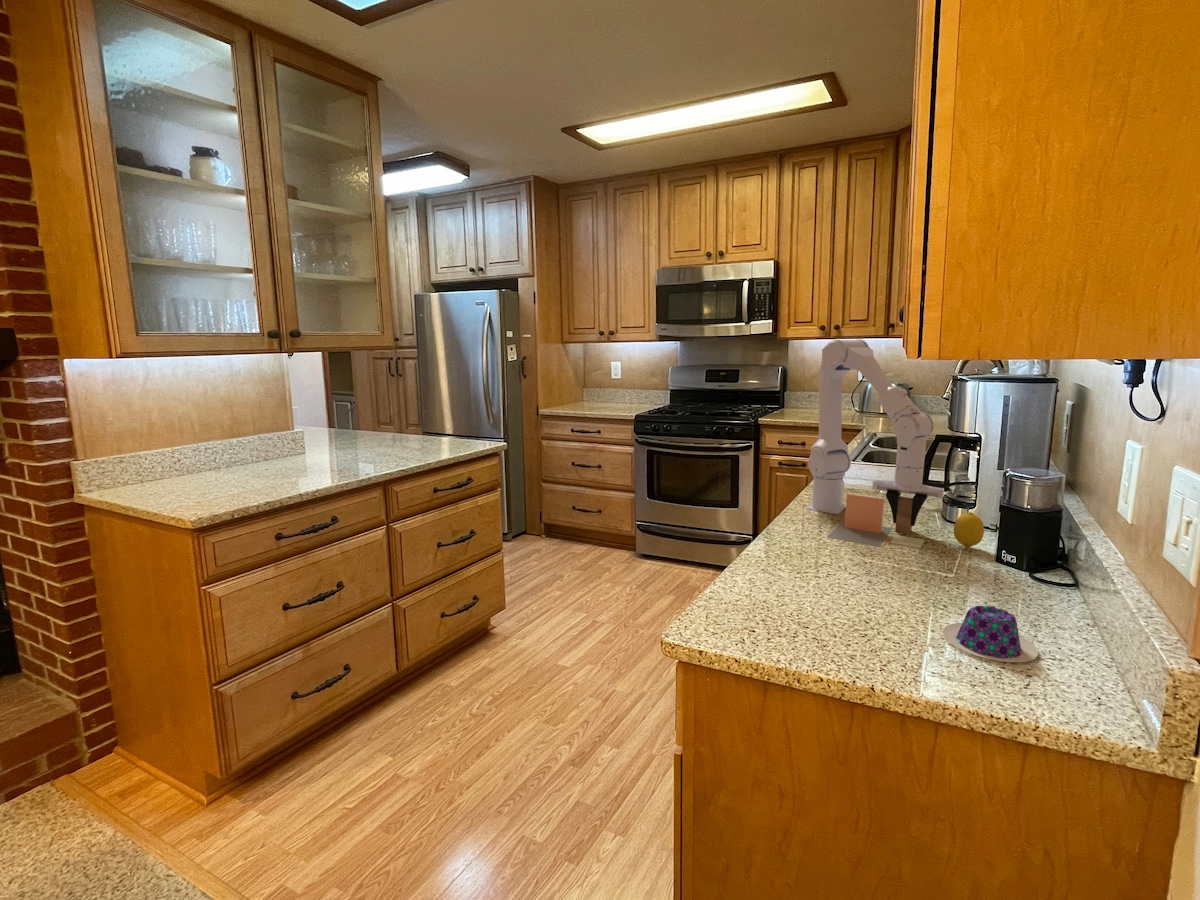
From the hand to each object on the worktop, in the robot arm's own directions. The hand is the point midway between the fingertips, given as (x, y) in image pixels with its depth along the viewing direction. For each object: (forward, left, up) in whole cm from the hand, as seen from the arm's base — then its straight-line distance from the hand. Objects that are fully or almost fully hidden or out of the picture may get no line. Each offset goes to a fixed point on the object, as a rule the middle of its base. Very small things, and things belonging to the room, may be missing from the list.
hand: (904, 523), depth 142 cm
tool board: (+8, +2, -2) cm, 9 cm away
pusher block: (0, 0, -2) cm, 2 cm away
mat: (+7, -8, -2) cm, 11 cm away
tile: (+4, -8, -2) cm, 9 cm away
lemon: (+4, +13, -2) cm, 14 cm away
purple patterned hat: (+51, +19, -3) cm, 55 cm away
